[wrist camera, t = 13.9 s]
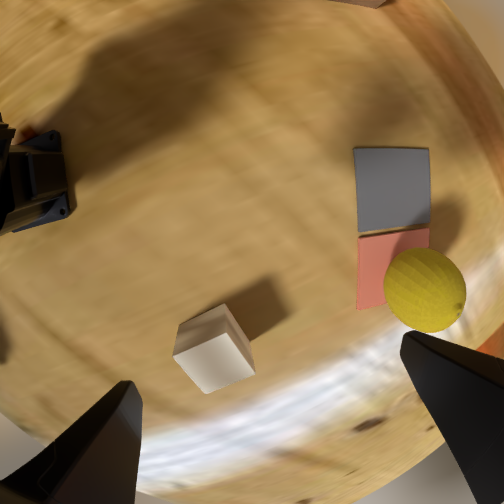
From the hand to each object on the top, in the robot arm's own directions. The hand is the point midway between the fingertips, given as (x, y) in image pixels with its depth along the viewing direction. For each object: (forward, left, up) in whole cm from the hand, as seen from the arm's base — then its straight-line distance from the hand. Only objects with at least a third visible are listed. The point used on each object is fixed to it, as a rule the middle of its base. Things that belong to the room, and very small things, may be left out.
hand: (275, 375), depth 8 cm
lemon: (+12, -3, -12) cm, 17 cm away
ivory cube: (-3, -6, -12) cm, 14 cm away
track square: (+12, +4, -12) cm, 17 cm away
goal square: (+12, -3, -12) cm, 17 cm away
